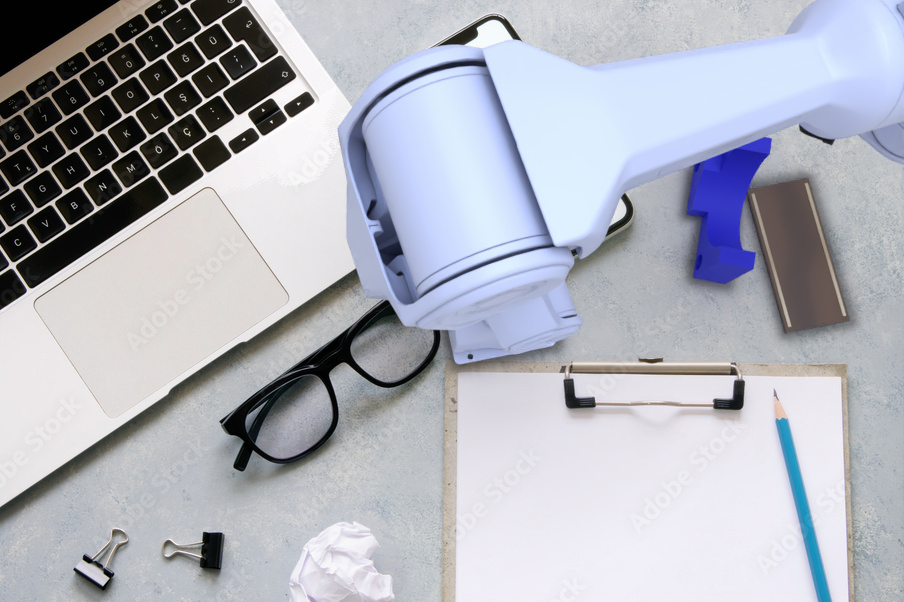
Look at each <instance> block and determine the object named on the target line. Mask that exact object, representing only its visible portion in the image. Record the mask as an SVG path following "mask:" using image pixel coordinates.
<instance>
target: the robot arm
mask: <svg viewBox="0 0 904 602" xmlns="http://www.w3.org/2000/svg"><path fill="white" fill-rule="evenodd" d="M797 125H798V130H799V132H800V133H802V134H804V135H805V136H808V137H810V138H813V139H816V140H820V141H821V142H822V143H824V144H827V145H830V146H833V145H834V143H835V141H836V140H844V139H848V138H852V137H856V136H858V137H859V138H861V139H862V140H863V141H864V143H867V144H868V145H869V146H870V147H871V148H873V150H875V151H876V152H877V153H878V154H880V155H882V156H883V157H884V158H885V159H887V160H890V161H892V162H894V163H897V164H901V165H904V0H813V1H812V2H811V3H809V4H808V5H807V6H806V7H804V8H803V9H802V10H800V12H799V13H798V14H797V15H796V16H795V18H794V19H793V21H792V22H791V24H790V25H789V26H788V28H787V29H786V30H785V33H784V34H781V35H775V36H774V35H773V36H768V37H763V38H762V37H761V38H756V39H750V40H744V41H743V40H742V41H736V42H731V43H724V44H718V45H712V46H706V47H705V46H704V47H699V48H694V49H693V48H692V49H687V50H679V51H674V52H673V51H672V52H667V53H660V54H655V55H648V56H642V57H636V58H630V59H623V60H617V61H611V62H605V63H598V64H591V65H579V64H577V63H574V62H572V61H570V60H568V59H565V58H562V57H561V56H558V55H556V54H553V53H551V52H550V51H549V52H548V51H547V50H544V49H542V48H539V47H537V46H534V45H532V44H529V43H527V42H525V41H523V40H519V39H506V40H504V41H501V42H497V43H494V44H491V45H489V46H486V47H483V48H482V47H476V46H471V45H465V44H445V45H444V44H443V45H438V46H433V47H429V48H426V49H425V48H424V49H422V50H420V51H416V52H414V53H412V54H409V55H408V56H405V57H403V58H401V59H399V60H398V61H397V60H396V61H395V62H394V63H392V64H391V65H389V66H388V67H386V68H385V69H383V70H382V71H381V72H380V73H379V74H378V75H376V76H375V77H374V78H373V79H372V81H370V83H369V84H368V86H367V87H366V89H364V91H363V92H362V93H361V94H360V96H359V97H358V99H357V100H356V101H355V103H354V104H353V106H352V107H351V109H350V110H349V111H348V112H347V115H345V117H344V118H343V120H342V121H341V123H340V124H339V125H338V126H337V138H338V142H339V143H338V144H339V146H340V147H339V149H340V152H341V158H342V163H343V168H344V173H345V179H346V202H345V203H346V206H345V207H346V209H345V211H346V213H345V214H346V215H345V217H346V219H345V223H346V224H345V228H346V229H345V230H346V231H345V237H346V243H347V246H348V248H349V251H350V254H351V257H352V260H353V264H354V266H355V269H356V272H357V276H358V278H359V282H360V284H361V288H362V291H363V294H364V296H365V298H367V299H373V300H383V301H388V302H389V304H390V305H391V307H392V308H393V310H394V312H395V314H396V315H397V317H398V319H399V320H400V322H401V323H402V325H403V326H404V327H411V328H419V329H421V330H427V331H428V330H433V331H447V332H448V337H449V342H450V347H451V352H452V357H453V360H454V363H455V364H456V365H466V364H469V363H475V362H480V361H485V360H491V359H497V358H499V357H506V356H510V355H519V354H523V353H526V352H531V351H536V350H541V349H545V348H550V347H553V346H554V345H555V344H556V342H559V341H561V340H564V339H566V338H568V337H571V336H573V335H575V334H577V333H578V332H579V330H580V328H581V326H582V325H583V318H582V316H581V315H578V312H577V309H576V307H575V303H574V301H573V299H572V298H573V297H572V295H571V293H570V291H569V288H568V285H567V283H566V279H567V277H568V275H569V272H570V270H572V269H573V267H574V265H575V258H574V255H573V253H572V250H575V251H576V255H577V256H578V259H579V260H582V259H584V258H588V256H590V255H591V254H593V253H594V252H595V251H596V250H597V249H598V248H600V246H601V245H602V243H603V242H604V241H605V239H606V236H607V234H608V232H609V228H610V225H611V223H612V221H613V218H614V215H615V213H616V210H617V208H618V205H619V202H620V200H621V199H622V197H623V195H625V194H626V193H627V192H628V191H631V190H633V189H635V188H638V187H640V186H641V187H642V186H643V185H646V184H648V183H651V182H653V181H657V180H659V179H661V178H663V177H666V176H669V175H672V174H674V173H676V172H679V171H681V170H684V169H687V168H689V167H691V166H694V164H697V163H699V162H702V161H705V160H707V159H710V158H712V157H715V156H717V155H720V154H722V153H725V152H728V151H730V150H733V149H735V148H738V147H740V146H743V145H745V144H748V143H751V142H753V141H756V140H758V139H761V138H763V137H768V136H771V135H773V134H776V133H778V132H781V131H784V130H786V129H789V128H792V127H795V126H797ZM469 355H471V356H472V358H471V359H470V358H468V356H469Z"/></svg>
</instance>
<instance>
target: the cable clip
mask: <svg viewBox="0 0 904 602" xmlns="http://www.w3.org/2000/svg"><path fill="white" fill-rule="evenodd" d="M772 141H773V138H772V137H768V136H766V137H763V138H761V139H758V140H756V141H753V142H751V143H748V144H745V145H743V146H740V147H738V148H735V149H733V150H730V151H728V152H725V153H722V154H720V155H717V156H715V157H712V158H710V159H707V160H705V161H702V162H699V163H697V164H694V165H693V170H692V175H691V182H690V189H689V194H688V195H689V196H688V201H687V208H686V215H688V216H689V215H690V216H694V217H699V218H701V223H700V229H699V235H698V241H697V249H696V255H695V262H694V267H693V276H692V279H696V280H697V279H698V280H703V281H706V282H712V283H716V284H717V283H718V284H722V285H727V284H728V283H730V282H732V281H734V280H736V279H737V278H739V277H741V276H744V275H746V274H748V273H749V272H751V271H753V270H754V269H755V262H756V257H757V255H756V254H757V252H756V251H750V250H746V249H744V248H743V246H742V243H741V235H740V234H741V233H740V231H741V230H740V229H741V218H742V213H743V209H744V205H745V201H746V197H747V191H748V190H749V189H750V186H751V184H752V181H753V179H754V177H755V175H756V173H757V172H758V170H759V168H760V166H761V165H762V164H763V163H764V162H765V160H766V159H767V158H768V157H769V156H770V155H771V149H772V143H773V142H772Z"/></svg>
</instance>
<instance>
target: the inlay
mask: <svg viewBox="0 0 904 602" xmlns="http://www.w3.org/2000/svg"><path fill="white" fill-rule="evenodd" d="M746 197H747V200H748V204H749V207H750V211H751V214H752V218H753V222H754V225H755V226H754V227H755V229H756V232H757V237H758V241H759V243H760V247H761V252H762V254H763V258H764V262H765V265H766V269H767V272H768V275H769V279H770V283H771V287H772V291H773V294H774V298H775V302H776V304H777V308H778V312H779V314H780V319H781V323H782V327H783V330H784V333H785V334H789V333H790V334H791V333H794V332H795V333H796V332H799V331H804V330H809V329H815V328H820V327H825V326H829V325H833V324H834V325H835V324H841V323H844V322H850V320H851V319H850V316H849V312H848V309H847V305H846V301H845V299H844V295H843V291H842V288H841V285H840V281H839V277H838V275H837V271H836V267H835V263H834V261H833V258H832V254H831V250H830V246H829V244H828V239H827V236H826V234H825V231H824V226H823V223H822V220H821V216H820V213H819V209H818V206H817V205H818V204H817V203H816V198H815V195H814V192H813V188H812V186H811V182H810V178H809V177H805V178H801V179H795V180H790V181H785V182H780V183H775V184H769V185H765V186H758V187H754V188H749V189H748V191H747V194H746Z"/></svg>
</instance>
